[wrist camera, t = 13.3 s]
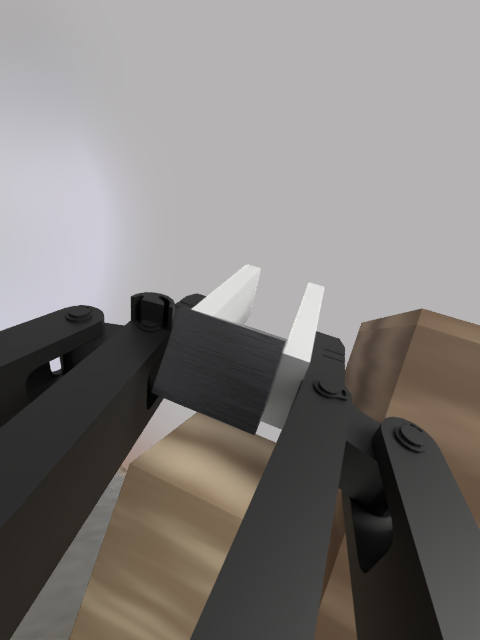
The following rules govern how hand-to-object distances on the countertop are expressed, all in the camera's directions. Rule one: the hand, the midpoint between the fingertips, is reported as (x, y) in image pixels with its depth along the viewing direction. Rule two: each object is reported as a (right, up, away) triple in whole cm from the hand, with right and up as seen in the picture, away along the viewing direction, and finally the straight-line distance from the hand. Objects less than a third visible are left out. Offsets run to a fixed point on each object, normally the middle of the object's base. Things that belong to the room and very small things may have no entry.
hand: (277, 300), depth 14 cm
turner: (-1, -4, +2) cm, 4 cm away
